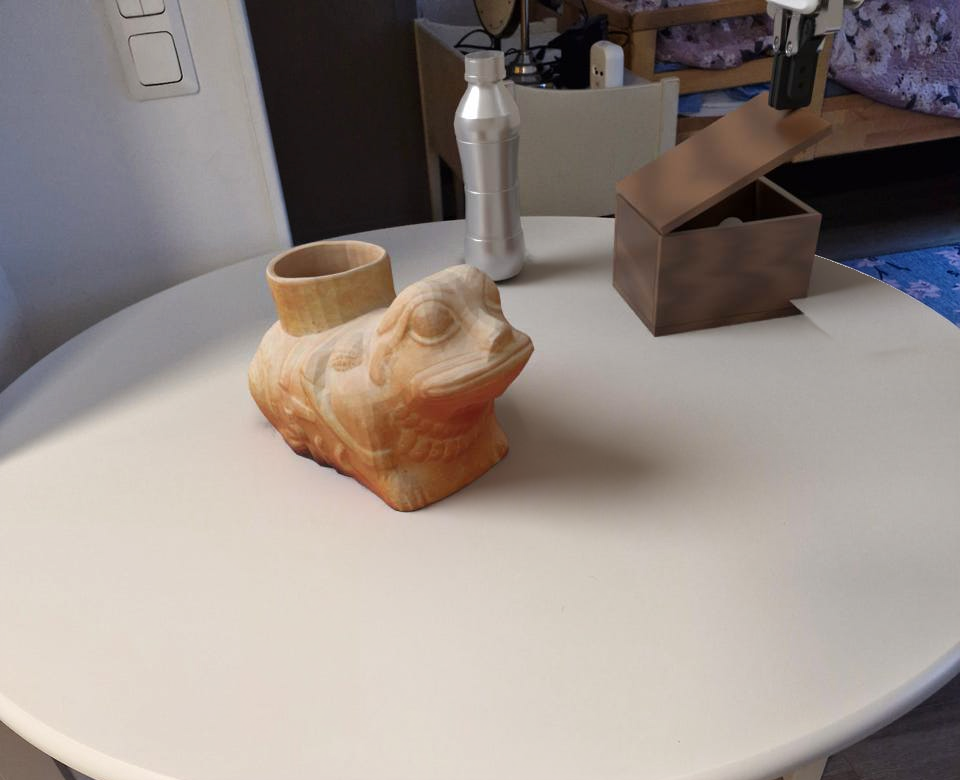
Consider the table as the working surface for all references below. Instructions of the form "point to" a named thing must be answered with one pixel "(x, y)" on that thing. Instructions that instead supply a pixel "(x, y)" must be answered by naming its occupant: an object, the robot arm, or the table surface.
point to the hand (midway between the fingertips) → (788, 106)
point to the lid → (719, 161)
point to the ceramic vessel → (386, 370)
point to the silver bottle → (490, 168)
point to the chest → (717, 261)
